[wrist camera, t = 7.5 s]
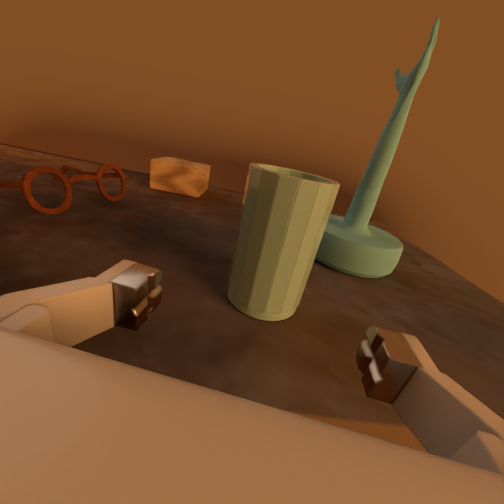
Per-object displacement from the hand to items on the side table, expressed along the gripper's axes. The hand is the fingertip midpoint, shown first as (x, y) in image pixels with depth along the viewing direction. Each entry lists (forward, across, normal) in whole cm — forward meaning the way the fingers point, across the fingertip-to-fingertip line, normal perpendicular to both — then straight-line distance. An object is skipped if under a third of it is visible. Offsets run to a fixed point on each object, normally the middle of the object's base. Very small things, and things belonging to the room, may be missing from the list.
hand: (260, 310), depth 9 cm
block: (+39, +20, +6) cm, 44 cm away
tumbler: (+9, 0, +6) cm, 11 cm away
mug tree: (+23, -9, +6) cm, 26 cm away
